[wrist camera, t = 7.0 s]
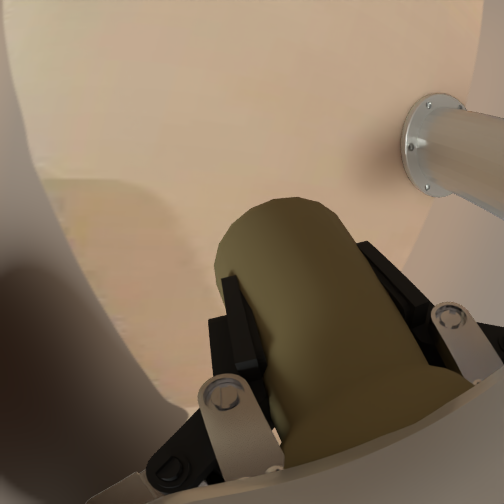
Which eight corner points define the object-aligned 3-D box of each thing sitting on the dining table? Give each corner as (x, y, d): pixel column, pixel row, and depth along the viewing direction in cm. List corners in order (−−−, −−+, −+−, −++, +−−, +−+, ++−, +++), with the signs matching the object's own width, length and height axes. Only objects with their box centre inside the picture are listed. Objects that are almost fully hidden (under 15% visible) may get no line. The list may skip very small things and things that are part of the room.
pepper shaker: (373, 227, 13) (558, 418, 3) (310, 331, 15) (401, 533, 5) (250, 173, 11) (465, 510, 1) (194, 303, 13) (220, 581, 3)
